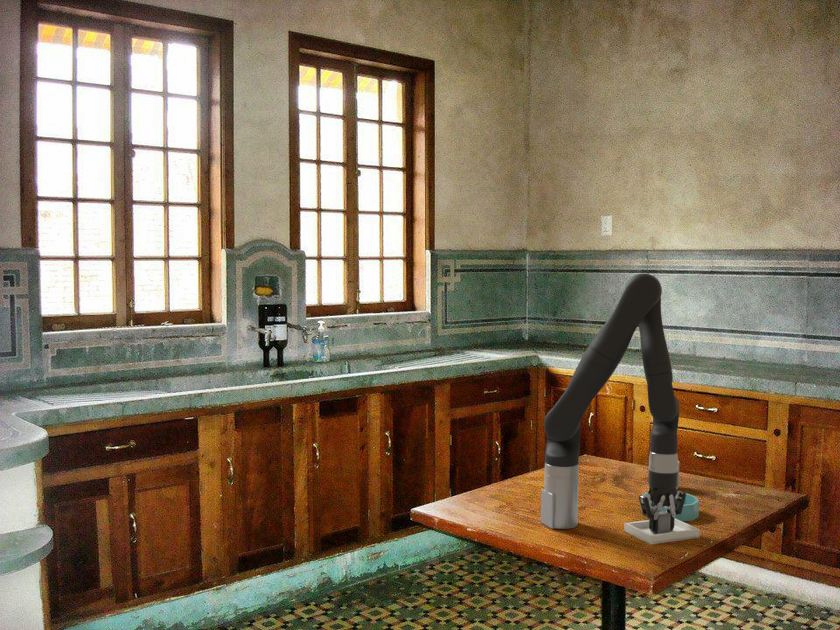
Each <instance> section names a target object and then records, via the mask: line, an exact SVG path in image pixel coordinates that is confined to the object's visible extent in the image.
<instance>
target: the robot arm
mask: <svg viewBox="0 0 840 630" xmlns="http://www.w3.org/2000/svg"><path fill="white" fill-rule="evenodd" d="M662 292H663V289H662V285H661V282H660V281H659V279H658V278H657V277H656V276H654V275H652V274H650V273H638V274H635V275H633V276H632V277H631V278H629V280H628V281H627V283H626V285H625V286H624V289H623V291H622V294H621V296H620V298H619V300H618V302H617V304H616V306H615V308H614V309H613V312H612V313H611V314H610V316H609V318H608V319H607V321H606V322H605V323H604V324H603V325H602V327H601V328H600V329H599V331H598V332H597V333H596V335H595V336H594V338H593V339H592V340H591V342H590V343H589V345H588V347H587V348H586V350H585V351H584V353H583V354H582V356H581V359H580V361H579V362H578V364H577V366H576V368H575V370H574V373H573V375H572V376H571V379H570V381H569V383H568V385H567V387H566V389H565V391H564V392H563V394H562V395H561V396H560V397H559V399H558V401H556V403H555V404H554V405H553V407H552V408H551V409H550V410H549V411H548V412H547V414H546V415H545V416H544V419H543V420H544V421H543V428H544V432H545V433H546V444H545V452H544V488H542V489H541V490H540V492H541V496H540V497H541V499H540V502H541V503H540V523H541V524H543V525H544V526H546V527H548V528H549V529H551V530H552V529H553V530H554V529H557V530H558V529H559V530H569V529H574V528H576V527H577V526H578V522H579V521H578V517H579V516H578V513H579V509H578V508H579V507H578V506H579V469H580V468H579V462H580V461H579V460H580V451H581V421H582V419H583V418H584V414H585V413H586V411H587V409H588V407H589V406H590V404H591V403H592V401H593V400H594V398H596V396H597V395H598V394H599V392H600V391H601V390H602V389H603V388H604V387H605V386H606V384H607V383H608V381H609V380H610V378H611V377H612V376H613V375H614V373H615V371H616V369H617V368H618V367H619V364H620V363H621V361H622V360H623V357H624V356H625V354H626V352H627V350H628V347H629V345H630V343H631V341H632V338H633V335H634V334H635V332H636V330H637V328H639V329H638V330H639V339H640V351H641V359H642V365H643V371H644V378H645V380H646V385H647V387H646V388H647V400H648V407H649V408H648V409H649V413H650V415H651V417H652V429H651V432H650V445H649V446H650V447H649V457H648V480H647V481H648V482H647V483H648V487H649V489H648V491H647V492H648V494H646V495H644V496H642V494H639V496H638V500H639V504H640V508H641V509H642V510H641V509H640V510H641V513H642V516H644V517H646V518H648V520H649V529H650V530H651V532H653V533H657V532H658V520H657V518H658V514H659V512H660V511H661V508H662V507H663V506H664V507H665V509H666V512H668V513H670V514H671V520H670V531H673V529H674V518H675V517H676V515H678V514H679V515H680V514H681V512H682V509H683V505H684V501H685V497H686V493H687V492H683V491H681V490H677V489H676V487H677V485H678V461H679V456H678V440H679V439H678V428H679V427H678V426H679V421H680V420H679V419H680V401H679V400H678V398H677V397H676V396H675V392H674V387H673V381H674V378H673V377H674V376H673V370H672V364H671V358H670V353H669V349H668V344H667V341H666V340H667V339H666V336H665V331H664V325H663V318H662ZM674 498H675V501H674ZM650 499H651V503H650ZM649 503H650V505H649ZM655 505H656V506H657V507H655ZM677 508H678V509H677Z"/></svg>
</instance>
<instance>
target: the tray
mask: <svg viewBox="0 0 840 630" xmlns="http://www.w3.org/2000/svg"><path fill="white" fill-rule="evenodd" d="M623 527H624V531H623V532H625V533H627V534H629V535H630V536H633V537H635V538H637V539H639V540H641V541H643V542H645V543H647V544H648V545H656V544H665V543H673V542H679V541H685V540H691V539H692V540H693V539H699V538H700V535H701V529H699V528H697V527H695V526H693V525H691V524H689V523H687V522H685V521H683V522H682V521H680V520H678V519H675V518H674V529H673V531H670V532H669V533H662V534H656V533H653V532H651V530H650V529H649V519H647V520H638V521H631V522H624V526H623Z"/></svg>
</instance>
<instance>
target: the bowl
mask: <svg viewBox="0 0 840 630" xmlns="http://www.w3.org/2000/svg"><path fill="white" fill-rule="evenodd" d="M685 493H686V497H685V501H684V505H683V509H682V512H681V514H680V515H679V514H678V515H676V517H675V519H678V520H680V521H682V522H690V521H694V520H696V519H698V518H700V517H699V516H700V501H699V499H698V497H697V496H696V495H695V496H694V495H692V494H689V493H687V492H685ZM646 494H648V491H647V492H644V493H643V494H641V495H642V496H644V495H646ZM674 501H675V498H674ZM650 503H651V499H650ZM650 503H649V505H650ZM655 507H657V506H656V505H655ZM677 509H678V508H677ZM640 510H641V511H642V509H640ZM661 511H662V512H666V509H665V507H664V506H663V507H662V508H661Z"/></svg>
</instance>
